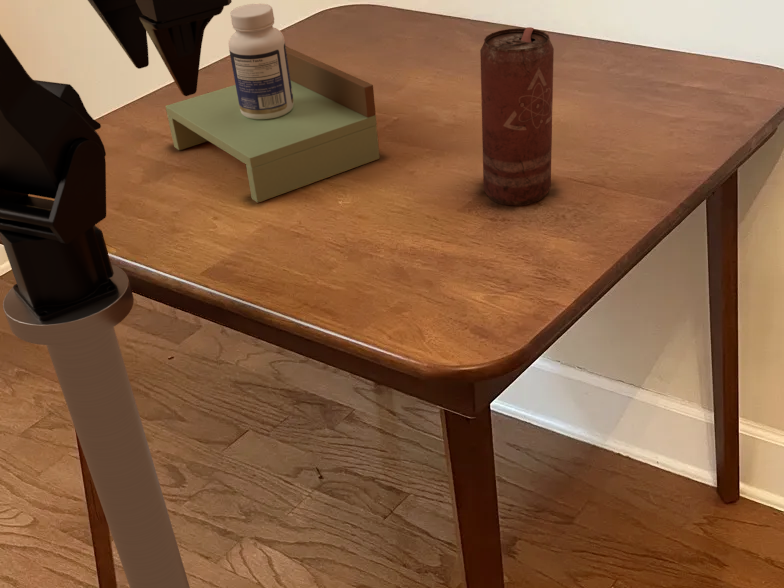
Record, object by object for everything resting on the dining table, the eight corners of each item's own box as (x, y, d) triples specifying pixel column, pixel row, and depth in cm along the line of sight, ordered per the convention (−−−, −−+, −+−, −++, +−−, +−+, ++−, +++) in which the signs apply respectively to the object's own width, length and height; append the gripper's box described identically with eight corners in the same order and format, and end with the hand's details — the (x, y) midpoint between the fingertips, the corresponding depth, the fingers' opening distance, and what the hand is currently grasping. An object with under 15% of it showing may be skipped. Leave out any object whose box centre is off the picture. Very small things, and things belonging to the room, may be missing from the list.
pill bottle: (256, 98, 105) (240, -1, 99) (303, 102, 103) (289, 1, 97) (230, 118, 101) (212, 17, 95) (279, 123, 99) (263, 19, 93)
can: (557, 179, 96) (561, 25, 87) (542, 209, 91) (544, 51, 82) (494, 174, 97) (491, 23, 89) (476, 204, 93) (471, 48, 84)
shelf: (257, 203, 96) (244, 126, 91) (174, 147, 108) (158, 76, 103) (379, 158, 102) (373, 84, 97) (288, 110, 114) (278, 42, 109)
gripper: (276, -132, 74) (304, 82, 83) (164, -157, 86) (200, 32, 96) (133, -103, 69) (181, 121, 79) (37, -133, 81) (88, 63, 91)
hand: (165, 80), depth 86 cm, fingers open, 9 cm apart
